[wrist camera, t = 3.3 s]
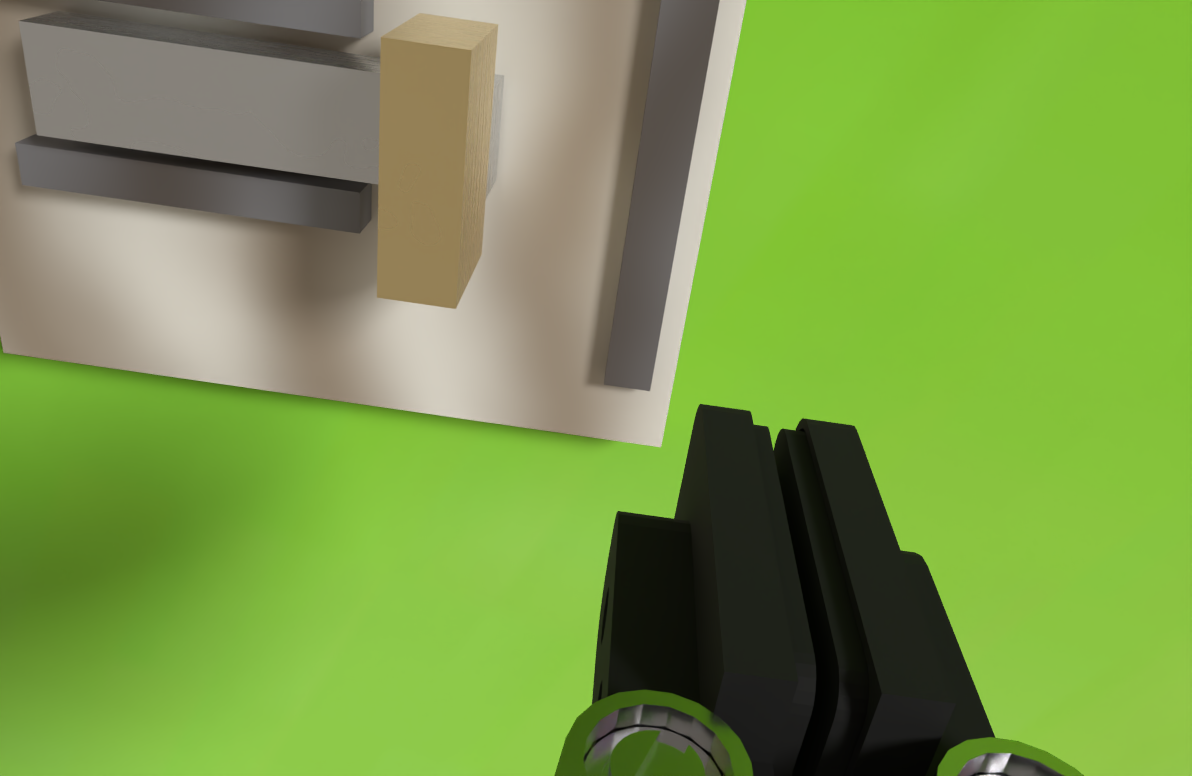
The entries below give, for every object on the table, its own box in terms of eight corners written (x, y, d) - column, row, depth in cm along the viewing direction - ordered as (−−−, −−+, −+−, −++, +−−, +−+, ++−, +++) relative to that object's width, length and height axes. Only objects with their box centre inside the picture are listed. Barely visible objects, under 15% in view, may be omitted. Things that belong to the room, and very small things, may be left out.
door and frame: (784, -246, 20) (818, -277, 15) (661, 410, 28) (659, 518, 23) (-530, -438, 20) (-888, -527, 15) (-281, 274, 28) (-468, 356, 23)
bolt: (509, 14, 21) (471, 50, 17) (492, 232, 23) (456, 309, 19) (49, -53, 21) (-97, -33, 17) (81, 172, 23) (-40, 237, 19)
